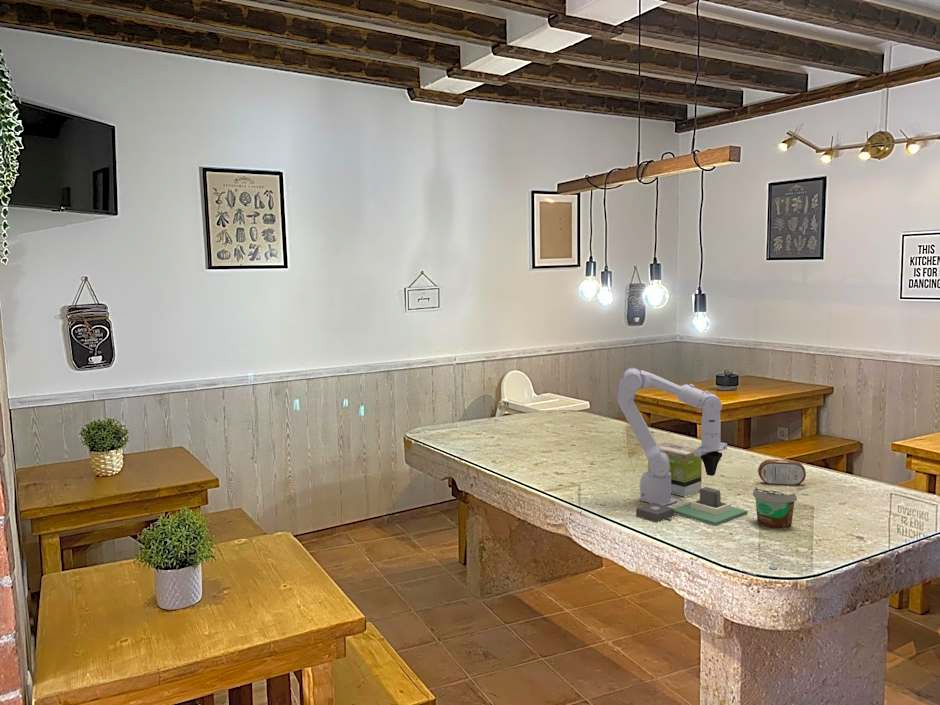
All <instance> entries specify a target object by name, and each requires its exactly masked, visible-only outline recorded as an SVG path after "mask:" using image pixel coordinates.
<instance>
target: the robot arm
mask: <svg viewBox="0 0 940 705" xmlns="http://www.w3.org/2000/svg"><path fill="white" fill-rule="evenodd" d="M641 387H643V389H647V388H655V389H657V390H661V391H662V392H663V391H664V392H666V393H669V394H672V395H675V396H676V397H677V400H678V401H679V402H681V403H683V404H686V405H688V406H691V407H693V408H696V409H701V410H702V412H701V413H702V414H701V421H700V422H701V424H700V426H701V427H700V428H701V429H700V430H701V433H700V434H701V445H700V446H699V447H697V448H696V449H695V450H694V456H698V457H701V459H702V464H703V466H704V469H705V474H706V475H707V476H709V477H710V476H711V477H714V476H715V474H716V473H717V467H718V465H719V462H720V460H721V458H722V457H723V453H722V451H724V450H728V443H727V442H721V431H722V430H721V425H722V422H721V421H722V420H721V411H722V409H723V405H722V402H721V400H720V398H719V397H718V396H717V395H716V394H714V393H713V392H710V391H708V390H705V391H704V390H701V389H699V388H697V387H695V385H694V384H693V383H690V384H686V383H685V384H683V385H679V384H677V383H675V382H672V381H670V380H667V379H665V378H663V377H661V376H659V375H657V374H654V373H651V372H648V371H647V370H646V371H645V370H641V369H640V370H639V369H638V368H636V367H629V368H627V369H626V370H624V372H623V374H622V376H621V378H620V381H619V387H618V394H617V395H618V396H617V403H618V405H619V408H620V409H621V411H622V413H623V415H624V417H625V419H626V420H627V423H628V424H629V426H630V428H631V430H632V431H633V433H634V435H635V436H636V438H637V441H638V443H639V444H640V447H641V448H642V450H643V452H644V454H645V457H646V459H647V462H648V461H649V464H650V471H649V472H648V471H646V472H644V473H643V474H641V476H640V480H639V481H640V482H639V483H640V484H639V489H640V490H639V492H640V493H639V498H638V501H640V500H641V502H644V501H645V502H644V503H647V502H648V503H647V504H650V503H657V504H660V505H664V506H667V505H670V504H671V505H672V504H674V503H677V502H678V500H677V499H674V498H672V494H671V473H670V472H669V471H670V464H669V457H668V455H667V454H666V453H664V452H663V451H662V450H661V448H660V447H659V445H658V443H657V441H656V439H655V438H654V435H653V434H652V431H651V430H650V428H649V426H648V424H647V423H646V420H645V418H644V417H643V415H642V414H641V412H640V410H639V408H638V406H637V405H636V403H635V401H634V400H635V397H636V395H637V392H638V391H639V390H640V389H641Z"/></svg>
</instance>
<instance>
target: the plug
mask: <svg viewBox="0 0 940 705" xmlns="http://www.w3.org/2000/svg"><path fill="white" fill-rule="evenodd" d="M721 497H722V496H721V490H720V489H716V488H711V487H708V486H705V487H701V489H700V492H699V499H700V504H703V505H706V506H710V507H714V508H718V507H720V501H721Z"/></svg>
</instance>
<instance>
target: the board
mask: <svg viewBox="0 0 940 705" xmlns="http://www.w3.org/2000/svg"><path fill="white" fill-rule="evenodd" d="M674 513H676V514H675V515H677V514H679V515H678V516H681V515H682V516H681V517H684V516H686V517H685V518H687V517H689V518H688V519H691V518H693V519H692V520H694V519H696V520H695V521H697V520H699V521H698V522H701V521H702V522H701V523H704V522H706V523H705V524H708V523H709V524H708V525H711V524H712V525H711V526H714V525H715V527H716V526H719V525H722V524H725V523H727V522H730V521H732V519H733V520H735V519H738V518H741V517H743V516H746V515H748V510H746V509H743V508H739V507H734V506H732V504H731V503H729V502H726V501H725V502H724V501H721V500H720V507H718V508H714V507H710V506H706V505H703V504H700V498H699V499H695V500H692V501H690V502H688V503H686V504H682V505H679V506H677V507H674ZM740 516H741V517H740ZM734 518H735V519H734ZM729 520H730V521H729ZM721 523H722V524H721Z"/></svg>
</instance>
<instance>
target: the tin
mask: <svg viewBox="0 0 940 705" xmlns="http://www.w3.org/2000/svg"><path fill="white" fill-rule="evenodd" d="M757 472H758V477H759V478H760V479H761V481H762V482H764V483H765V484H768V485H775V486H791V485H795V486H799V485H800V484H802V483H803V482H804V481H805V479H806V476H807V473H806V469H805V467H804V464H802V463H801V462H799V461H797V460H792V459H791V460H790V459H789V460H788V459H786V460H785V459H766V460H764V461H762V462H761V463H760V464H759V466H758V469H757Z"/></svg>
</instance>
